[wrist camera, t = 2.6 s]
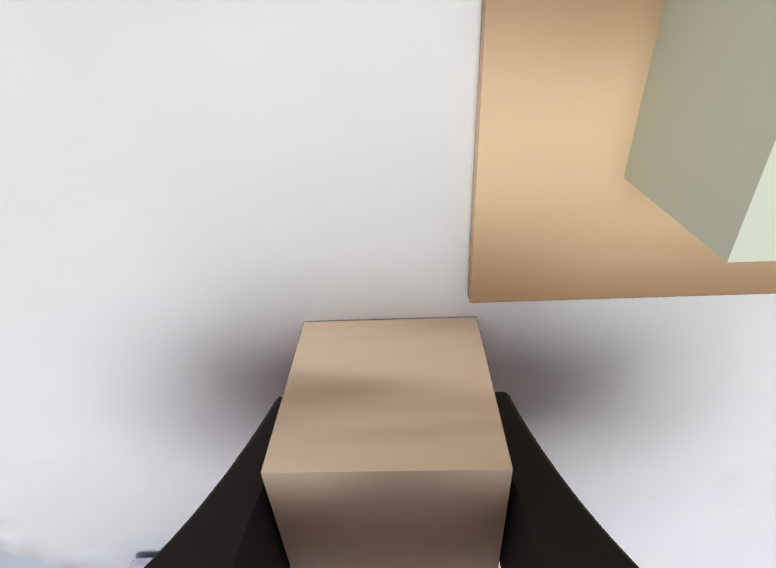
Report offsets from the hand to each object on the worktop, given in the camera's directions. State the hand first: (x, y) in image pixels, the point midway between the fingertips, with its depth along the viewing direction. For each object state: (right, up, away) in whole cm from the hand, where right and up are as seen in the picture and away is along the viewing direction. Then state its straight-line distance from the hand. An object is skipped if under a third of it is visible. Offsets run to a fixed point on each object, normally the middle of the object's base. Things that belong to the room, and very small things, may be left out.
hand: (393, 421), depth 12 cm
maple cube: (0, +1, +1) cm, 1 cm away
